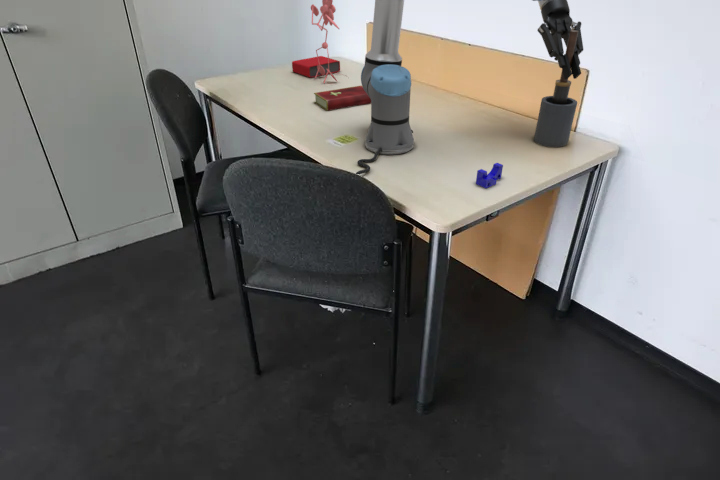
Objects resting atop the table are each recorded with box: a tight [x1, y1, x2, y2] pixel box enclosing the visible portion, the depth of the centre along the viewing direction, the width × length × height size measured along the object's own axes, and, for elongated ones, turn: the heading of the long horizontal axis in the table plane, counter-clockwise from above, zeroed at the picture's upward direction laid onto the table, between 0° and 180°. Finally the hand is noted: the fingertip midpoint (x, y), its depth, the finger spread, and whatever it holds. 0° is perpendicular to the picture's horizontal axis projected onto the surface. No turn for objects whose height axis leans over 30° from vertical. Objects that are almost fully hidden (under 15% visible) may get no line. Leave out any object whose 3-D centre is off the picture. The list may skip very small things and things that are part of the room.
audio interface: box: [291, 55, 341, 78], centre depth 229 cm, size 18×14×5 cm
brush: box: [552, 30, 578, 105], centre depth 142 cm, size 4×4×22 cm
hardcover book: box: [313, 85, 371, 112], centre depth 189 cm, size 12×21×4 cm, turn 118°
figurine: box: [310, 0, 349, 84], centre depth 210 cm, size 15×26×35 cm, turn 29°
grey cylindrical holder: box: [533, 95, 578, 148], centre depth 150 cm, size 10×10×13 cm
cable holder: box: [475, 162, 504, 189], centre depth 129 cm, size 8×4×4 cm, turn 127°
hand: (572, 76), depth 139 cm, fingers closed on brush, 2 cm apart
